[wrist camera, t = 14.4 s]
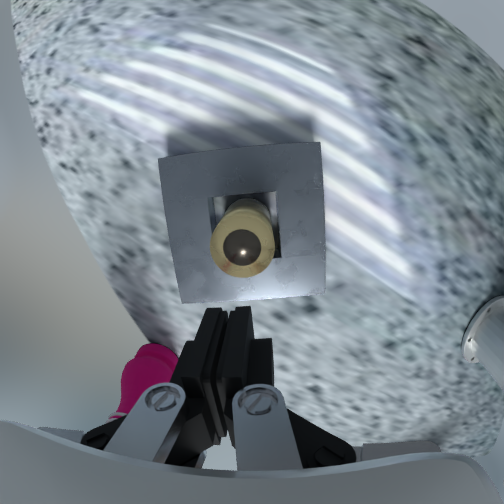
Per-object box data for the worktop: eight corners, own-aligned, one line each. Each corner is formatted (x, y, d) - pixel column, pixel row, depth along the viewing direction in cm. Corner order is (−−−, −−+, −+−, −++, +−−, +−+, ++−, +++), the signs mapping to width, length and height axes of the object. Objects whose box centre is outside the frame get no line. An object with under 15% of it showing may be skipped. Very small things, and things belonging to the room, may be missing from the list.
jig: (314, 143, 27) (320, 142, 24) (319, 281, 32) (325, 293, 29) (167, 158, 28) (157, 158, 25) (188, 291, 33) (181, 303, 30)
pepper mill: (153, 330, 35) (88, 455, 16) (194, 364, 36) (158, 495, 17) (126, 355, 36) (65, 464, 17) (163, 385, 38) (123, 499, 19)
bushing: (268, 196, 29) (272, 213, 20) (272, 241, 30) (277, 275, 22) (221, 200, 29) (205, 219, 21) (227, 245, 31) (214, 280, 22)
